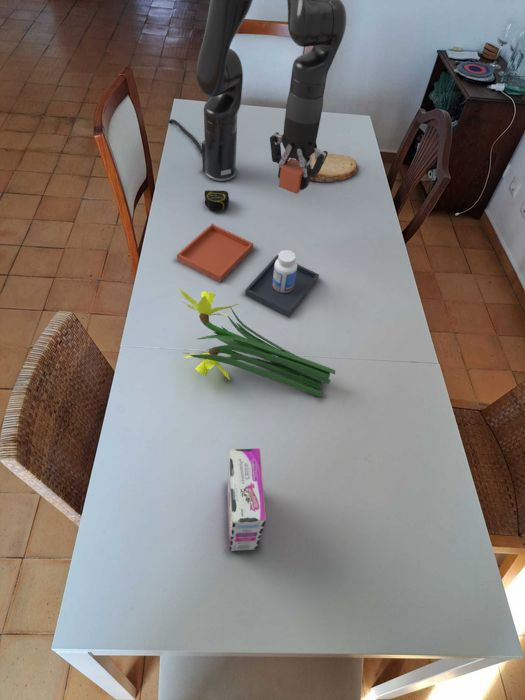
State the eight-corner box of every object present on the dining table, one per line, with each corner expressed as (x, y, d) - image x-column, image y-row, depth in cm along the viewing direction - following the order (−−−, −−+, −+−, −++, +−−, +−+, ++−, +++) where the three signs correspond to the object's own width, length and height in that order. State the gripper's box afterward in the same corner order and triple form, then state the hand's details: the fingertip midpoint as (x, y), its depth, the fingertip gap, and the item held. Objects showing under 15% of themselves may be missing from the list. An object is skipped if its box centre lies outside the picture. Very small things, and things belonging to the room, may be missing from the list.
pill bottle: (294, 279, 114) (300, 249, 106) (293, 294, 111) (298, 265, 103) (272, 276, 114) (276, 246, 106) (270, 292, 111) (274, 262, 103)
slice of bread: (361, 167, 148) (364, 156, 145) (337, 193, 138) (340, 182, 135) (312, 148, 152) (314, 137, 149) (286, 172, 142) (287, 161, 139)
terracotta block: (278, 186, 109) (280, 167, 105) (288, 177, 112) (291, 158, 108) (296, 194, 108) (299, 175, 104) (306, 184, 111) (309, 165, 107)
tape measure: (228, 199, 132) (228, 188, 129) (229, 214, 128) (229, 203, 125) (204, 199, 131) (204, 187, 128) (204, 214, 127) (204, 202, 124)
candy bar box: (259, 550, 76) (267, 521, 63) (229, 552, 75) (231, 524, 62) (254, 484, 83) (260, 446, 69) (226, 486, 82) (228, 448, 69)
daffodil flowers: (313, 432, 91) (145, 369, 85) (306, 396, 104) (161, 340, 99) (352, 361, 85) (175, 288, 79) (340, 333, 98) (187, 270, 93)
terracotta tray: (177, 260, 115) (176, 254, 114) (212, 229, 124) (211, 223, 122) (220, 282, 112) (220, 276, 110) (252, 249, 120) (253, 243, 119)
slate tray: (245, 295, 110) (245, 289, 109) (276, 260, 118) (277, 254, 117) (288, 317, 107) (289, 311, 105) (317, 280, 115) (319, 274, 114)
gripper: (341, 117, 96) (325, 187, 110) (282, 96, 100) (274, 166, 113) (326, 131, 92) (311, 203, 106) (265, 109, 96) (259, 180, 109)
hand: (292, 183), depth 110 cm, fingers closed on terracotta block, 5 cm apart
